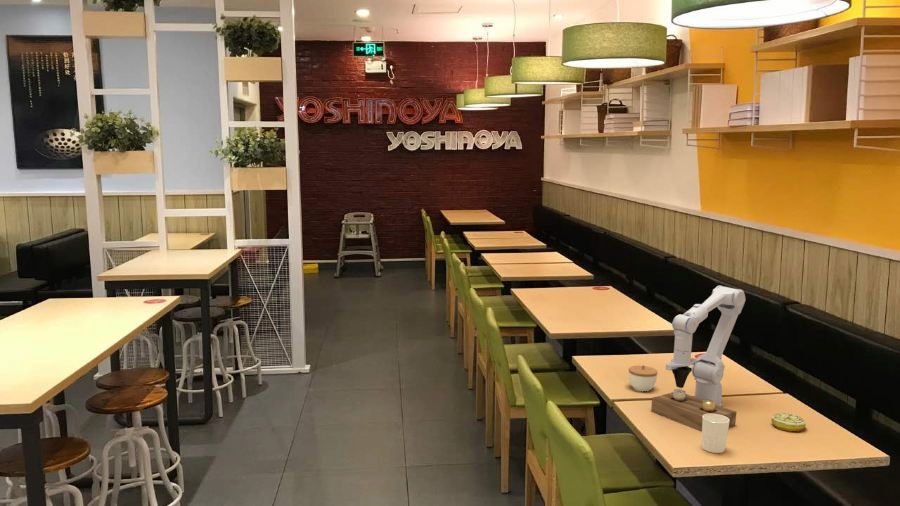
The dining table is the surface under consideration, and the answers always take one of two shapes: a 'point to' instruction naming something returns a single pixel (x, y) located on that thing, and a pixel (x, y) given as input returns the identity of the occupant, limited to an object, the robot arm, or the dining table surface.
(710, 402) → the gold ball
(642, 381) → the lidded jar
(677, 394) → the silver ball
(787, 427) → the yellow green round disc
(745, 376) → the dining table surface
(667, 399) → the walnut block
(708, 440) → the white cup
